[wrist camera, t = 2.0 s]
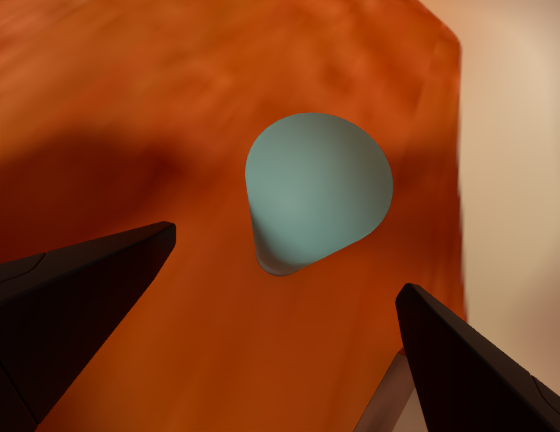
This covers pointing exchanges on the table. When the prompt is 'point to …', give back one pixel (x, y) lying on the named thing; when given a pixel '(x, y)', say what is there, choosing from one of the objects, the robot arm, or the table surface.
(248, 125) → the table surface
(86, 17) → the table surface
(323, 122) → the rod
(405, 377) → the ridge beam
